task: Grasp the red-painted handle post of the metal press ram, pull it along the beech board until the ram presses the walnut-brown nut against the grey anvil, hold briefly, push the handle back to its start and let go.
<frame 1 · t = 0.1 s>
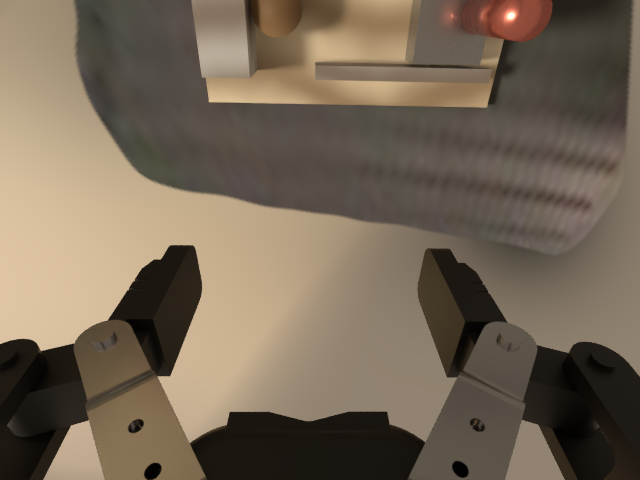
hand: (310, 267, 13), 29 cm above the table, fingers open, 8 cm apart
nut: (279, 8, 32), point 1 cm above the table, touching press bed
ram: (469, 13, 28), point 7 cm above the table, slide at 0.0 cm
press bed: (353, 10, 34), on the table
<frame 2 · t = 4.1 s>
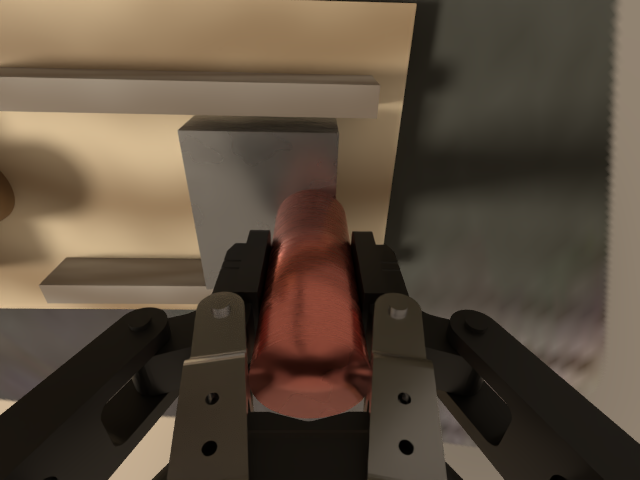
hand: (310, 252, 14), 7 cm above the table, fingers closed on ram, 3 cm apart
ram: (263, 254, 14), point 7 cm above the table, slide at 0.0 cm, touching gripper
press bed: (119, 178, 19), on the table
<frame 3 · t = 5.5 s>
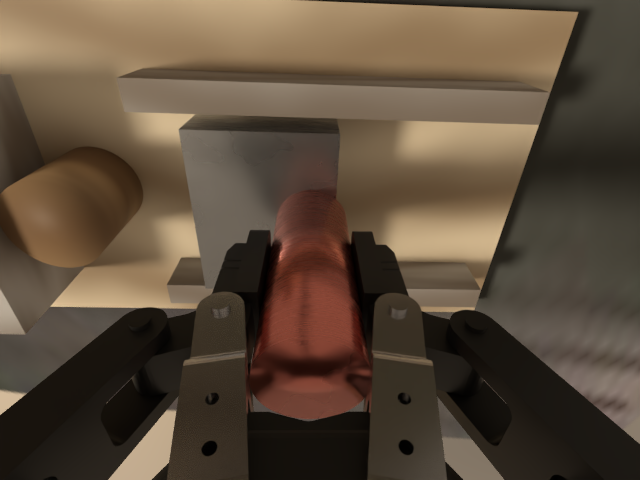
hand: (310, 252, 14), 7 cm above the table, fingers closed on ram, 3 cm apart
nut: (101, 186, 18), point 1 cm above the table, touching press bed
ram: (264, 254, 14), point 7 cm above the table, slide at 6.4 cm, touching gripper
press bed: (242, 180, 19), on the table
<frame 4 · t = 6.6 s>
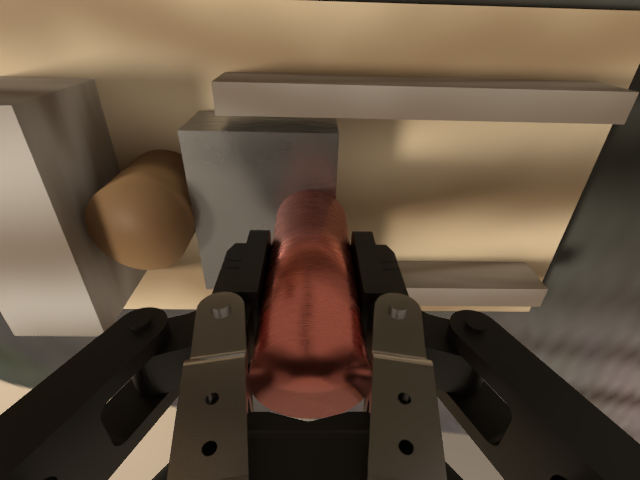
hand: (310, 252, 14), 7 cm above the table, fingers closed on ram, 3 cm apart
nut: (170, 189, 18), point 1 cm above the table, touching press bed, ram
ram: (263, 254, 14), point 7 cm above the table, slide at 9.8 cm, touching gripper, nut
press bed: (307, 181, 19), on the table
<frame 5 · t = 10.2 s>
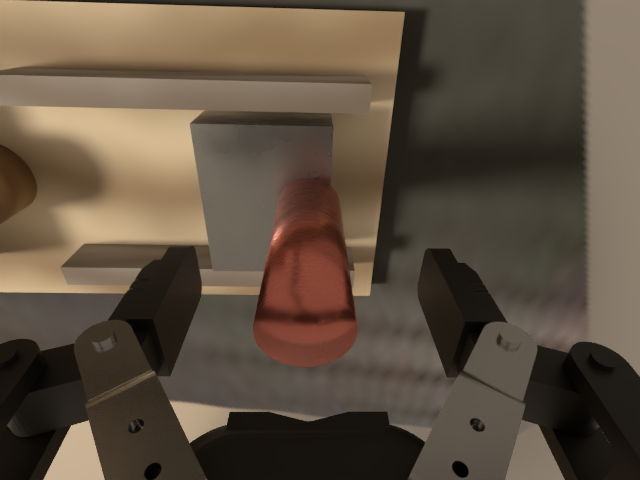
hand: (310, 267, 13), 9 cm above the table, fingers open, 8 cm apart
ram: (265, 233, 15), point 7 cm above the table, slide at 0.1 cm
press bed: (134, 170, 21), on the table
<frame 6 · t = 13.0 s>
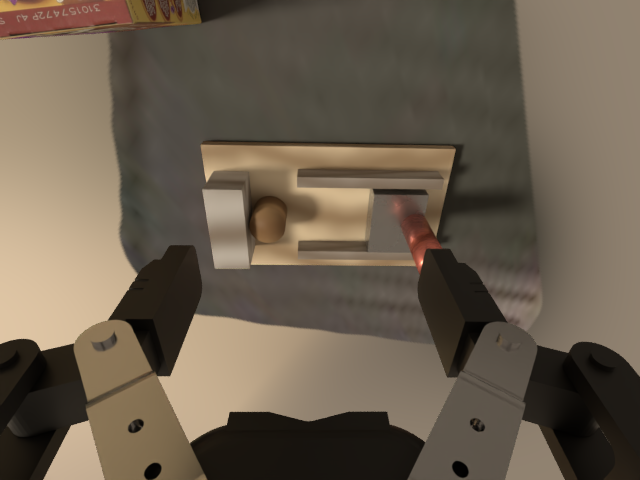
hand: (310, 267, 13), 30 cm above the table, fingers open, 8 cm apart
nut: (270, 210, 44), point 1 cm above the table, touching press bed
candy box: (150, 1, 34), on the table
ram: (403, 236, 40), point 7 cm above the table, slide at 0.1 cm
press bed: (326, 207, 45), on the table
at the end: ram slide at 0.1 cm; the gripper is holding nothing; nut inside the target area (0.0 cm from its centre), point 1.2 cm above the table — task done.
